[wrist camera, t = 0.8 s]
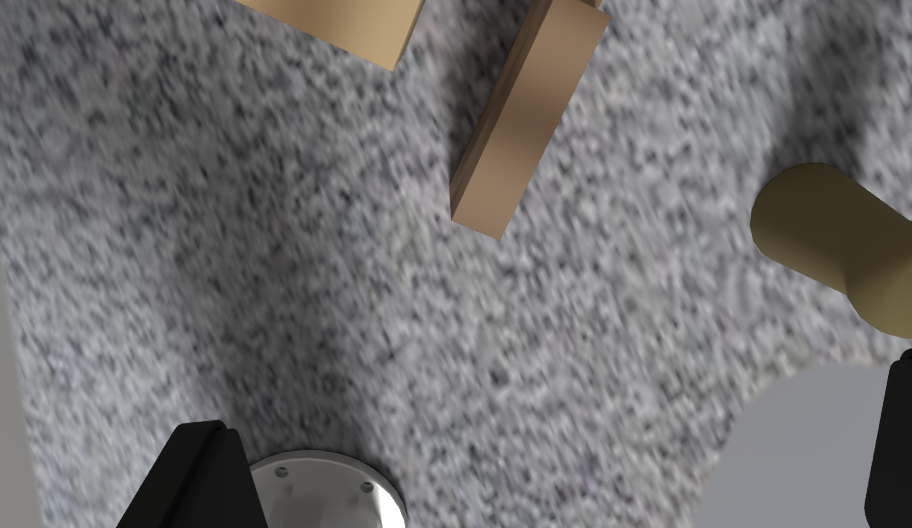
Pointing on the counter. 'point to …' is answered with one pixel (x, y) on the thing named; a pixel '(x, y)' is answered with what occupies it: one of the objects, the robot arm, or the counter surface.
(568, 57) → the notched wooden beam
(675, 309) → the counter surface
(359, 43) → the wooden u-shaped arch
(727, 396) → the counter surface
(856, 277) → the olive upright rounded block
